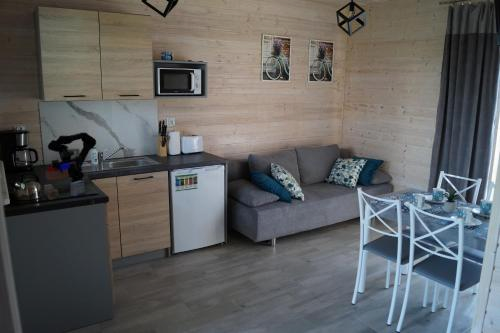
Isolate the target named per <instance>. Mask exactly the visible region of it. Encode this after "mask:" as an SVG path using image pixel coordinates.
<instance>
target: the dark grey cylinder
mask: <svg viewBox="0 0 500 333" xmlns="http://www.w3.org/2000/svg"><path fill="white" fill-rule="evenodd" d="M49 190H55V187H54V186H48V187H44V192H45V191H46V194H45V197H47V198H48V191H49Z"/></svg>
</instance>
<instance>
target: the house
mask: <svg viewBox="0 0 500 333" xmlns="http://www.w3.org/2000/svg"><path fill="white" fill-rule="evenodd" d="M70 164H71V163H64V164H60V166H61V168H62V170H63V173H64V174H62V173H61V172H60V171H59V170H57V169H55V168H52V166H51V165H50V166H48V168H46V169H45V170H44V172H45V180H51V181H52V180H55V181H60V180H63V179H66V178H68V177H69V174H68V168H69V166H70ZM69 178H70V177H69Z"/></svg>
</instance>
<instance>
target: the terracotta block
mask: <svg viewBox="0 0 500 333" xmlns="http://www.w3.org/2000/svg"><path fill="white" fill-rule="evenodd" d="M48 186H53V185H52V184H51V183H49V184H44V188H45V187H48ZM44 194H45V195H46V191H45V190H44Z"/></svg>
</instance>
